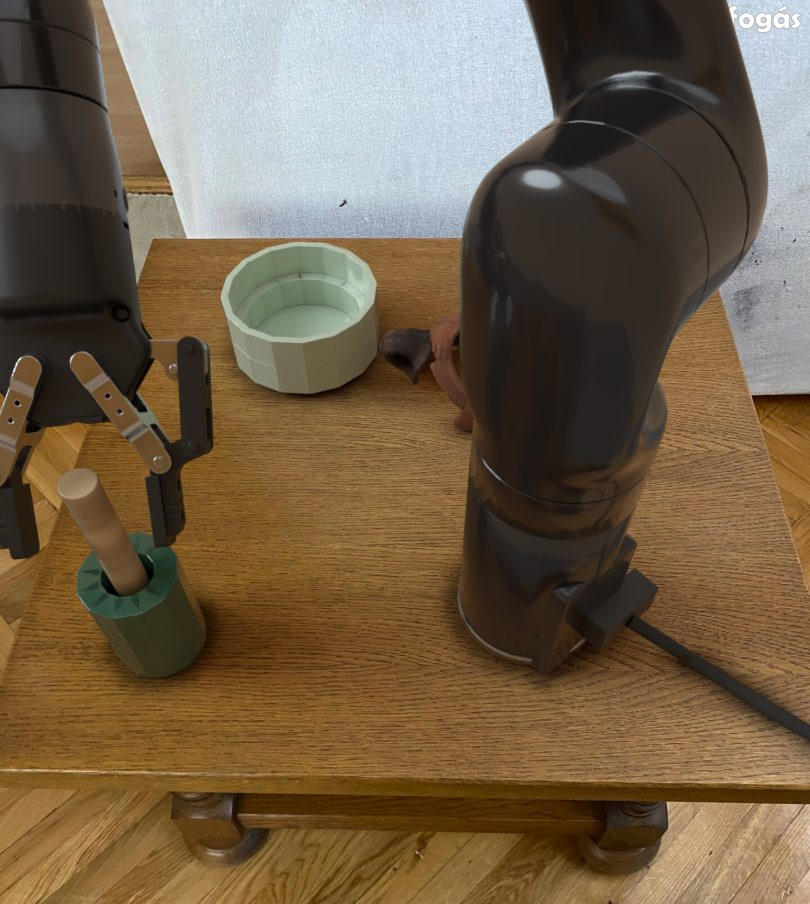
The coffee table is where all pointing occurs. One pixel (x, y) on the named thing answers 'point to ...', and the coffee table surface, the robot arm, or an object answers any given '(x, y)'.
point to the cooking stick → (103, 530)
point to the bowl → (302, 316)
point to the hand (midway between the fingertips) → (97, 549)
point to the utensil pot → (146, 612)
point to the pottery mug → (415, 351)
